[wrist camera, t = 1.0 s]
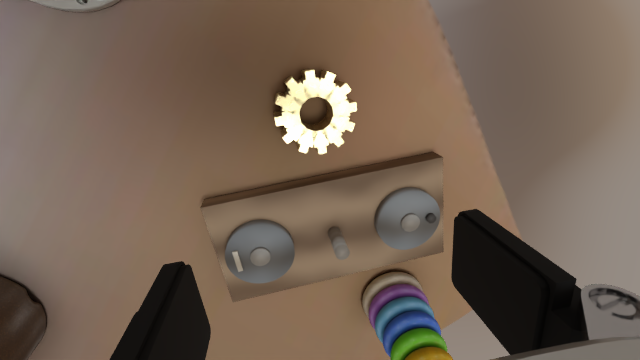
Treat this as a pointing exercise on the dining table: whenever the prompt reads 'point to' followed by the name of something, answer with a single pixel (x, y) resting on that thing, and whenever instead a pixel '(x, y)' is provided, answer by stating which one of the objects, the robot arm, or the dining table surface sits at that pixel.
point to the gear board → (327, 225)
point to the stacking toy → (403, 318)
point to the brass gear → (334, 117)
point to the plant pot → (19, 322)
